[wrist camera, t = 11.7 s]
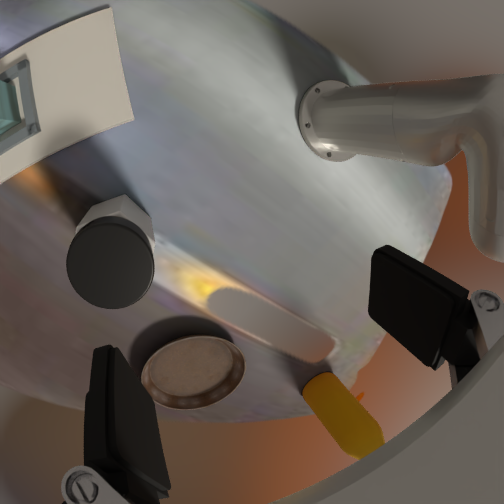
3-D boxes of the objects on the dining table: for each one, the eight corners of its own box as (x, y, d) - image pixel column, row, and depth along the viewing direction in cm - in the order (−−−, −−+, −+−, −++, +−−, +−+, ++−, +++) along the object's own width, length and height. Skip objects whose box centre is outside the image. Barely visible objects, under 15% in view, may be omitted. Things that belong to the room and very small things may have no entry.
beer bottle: (330, 389, 63) (399, 468, 38) (299, 403, 60) (365, 491, 35) (336, 365, 60) (416, 450, 35) (302, 379, 57) (380, 477, 32)
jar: (93, 187, 29) (71, 209, 19) (156, 200, 33) (164, 228, 22) (82, 256, 31) (63, 305, 21) (141, 267, 35) (146, 319, 25)
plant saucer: (257, 361, 49) (264, 372, 47) (186, 410, 48) (190, 421, 45) (199, 304, 40) (204, 315, 38) (118, 366, 39) (118, 380, 36)
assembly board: (112, 11, 21) (110, 1, 18) (134, 119, 28) (133, 117, 25) (-31, 86, 15) (-42, 84, 13) (-12, 192, 23) (-23, 196, 20)
